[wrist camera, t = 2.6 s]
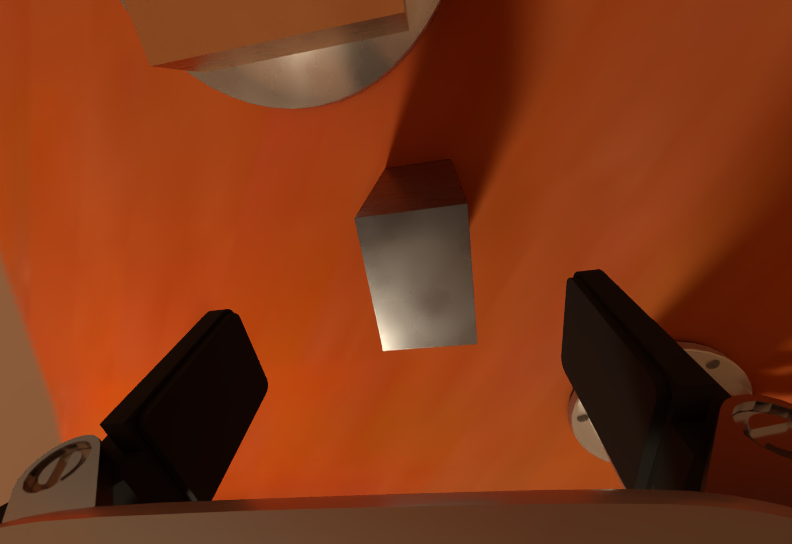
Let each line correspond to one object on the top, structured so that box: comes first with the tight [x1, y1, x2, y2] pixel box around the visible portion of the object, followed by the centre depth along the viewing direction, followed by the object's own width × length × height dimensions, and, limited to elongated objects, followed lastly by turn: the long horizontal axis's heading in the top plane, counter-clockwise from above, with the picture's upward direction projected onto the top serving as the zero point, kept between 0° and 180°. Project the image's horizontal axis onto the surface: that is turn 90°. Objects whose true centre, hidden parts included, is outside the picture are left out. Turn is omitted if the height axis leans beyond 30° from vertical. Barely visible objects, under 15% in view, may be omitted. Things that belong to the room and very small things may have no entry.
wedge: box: [355, 159, 477, 351], centre depth 18 cm, size 4×6×10 cm, turn 9°
